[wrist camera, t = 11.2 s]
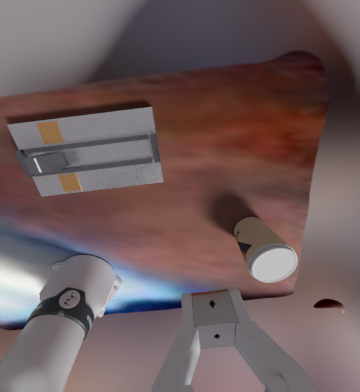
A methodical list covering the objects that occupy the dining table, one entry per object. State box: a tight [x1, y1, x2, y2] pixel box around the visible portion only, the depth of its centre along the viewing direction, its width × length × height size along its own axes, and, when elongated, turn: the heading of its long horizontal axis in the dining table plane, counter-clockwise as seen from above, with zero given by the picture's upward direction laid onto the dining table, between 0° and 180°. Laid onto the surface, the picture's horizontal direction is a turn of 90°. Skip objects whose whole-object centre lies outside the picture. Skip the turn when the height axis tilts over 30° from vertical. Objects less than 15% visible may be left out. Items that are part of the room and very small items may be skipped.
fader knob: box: [24, 152, 67, 175], centre depth 30 cm, size 4×3×4 cm
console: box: [7, 107, 164, 196], centre depth 33 cm, size 26×14×3 cm, turn 96°
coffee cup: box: [234, 217, 298, 283], centre depth 37 cm, size 9×9×12 cm
